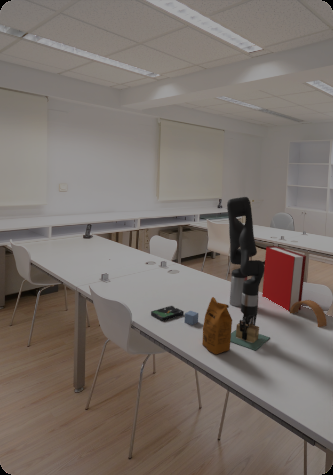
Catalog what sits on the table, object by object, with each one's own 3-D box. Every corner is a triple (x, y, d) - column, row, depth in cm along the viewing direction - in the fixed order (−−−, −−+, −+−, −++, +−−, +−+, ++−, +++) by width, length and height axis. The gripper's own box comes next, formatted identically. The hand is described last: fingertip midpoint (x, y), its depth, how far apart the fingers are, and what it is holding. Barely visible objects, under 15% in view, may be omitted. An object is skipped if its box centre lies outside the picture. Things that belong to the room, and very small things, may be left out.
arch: (297, 311, 201) (298, 295, 199) (326, 325, 184) (328, 307, 182) (289, 313, 199) (291, 296, 197) (318, 327, 181) (320, 309, 179)
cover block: (240, 333, 171) (241, 321, 170) (258, 338, 165) (259, 326, 164) (235, 336, 167) (236, 324, 166) (253, 342, 161) (254, 330, 160)
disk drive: (171, 310, 199) (150, 316, 190) (171, 305, 199) (150, 311, 189) (183, 316, 192) (162, 322, 182) (184, 311, 191) (163, 317, 182)
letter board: (239, 328, 177) (239, 327, 177) (269, 338, 167) (269, 337, 167) (223, 339, 165) (223, 338, 164) (255, 350, 155) (255, 349, 155)
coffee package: (217, 339, 164) (220, 294, 160) (233, 352, 153) (236, 303, 149) (198, 343, 160) (201, 297, 156) (213, 356, 149) (216, 307, 145)
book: (300, 310, 204) (306, 255, 198) (288, 311, 201) (294, 256, 195) (271, 294, 229) (275, 245, 223) (260, 295, 226) (264, 246, 220)
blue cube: (189, 319, 186) (190, 310, 185) (197, 322, 183) (198, 313, 182) (184, 322, 182) (184, 313, 181) (192, 325, 179) (193, 316, 178)
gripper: (248, 296, 171) (246, 329, 174) (235, 304, 159) (232, 340, 163) (263, 300, 166) (260, 334, 169) (250, 309, 155) (247, 345, 158)
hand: (246, 336), depth 166 cm, fingers closed on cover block, 5 cm apart
